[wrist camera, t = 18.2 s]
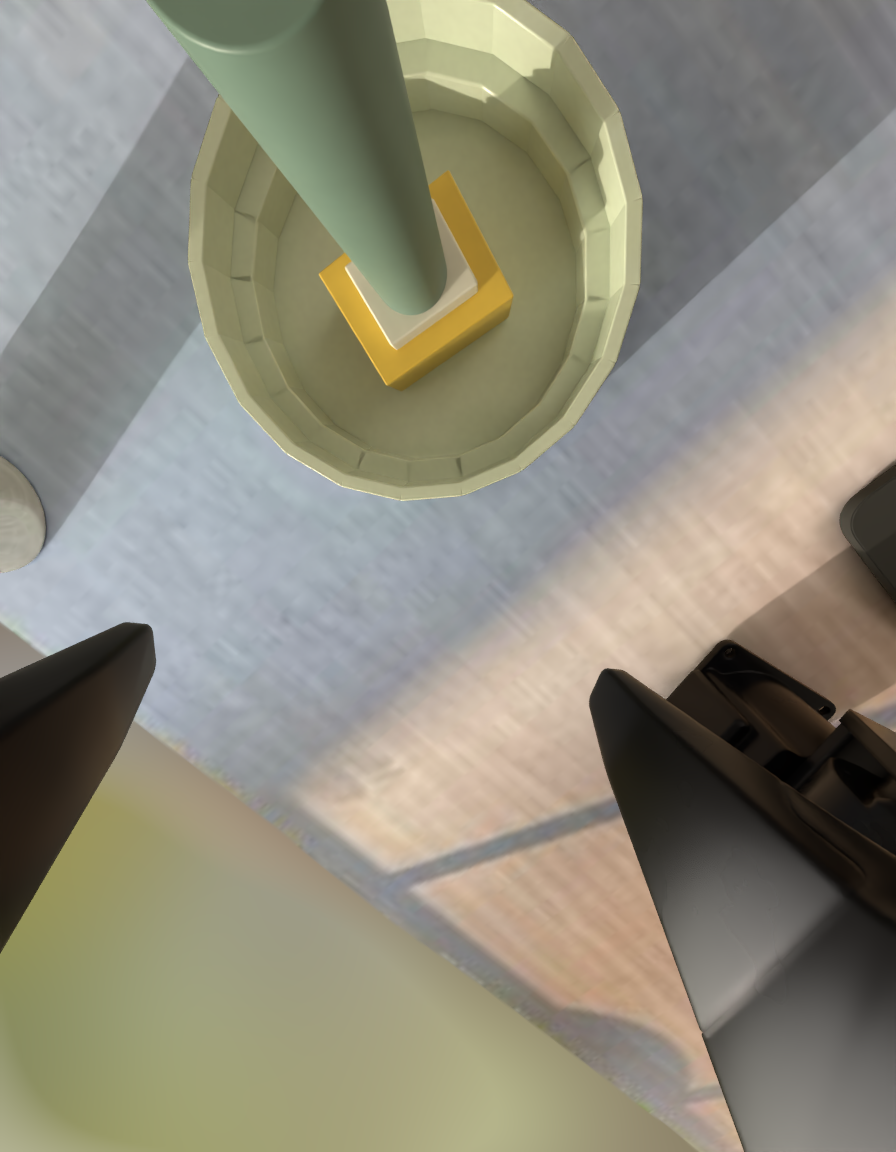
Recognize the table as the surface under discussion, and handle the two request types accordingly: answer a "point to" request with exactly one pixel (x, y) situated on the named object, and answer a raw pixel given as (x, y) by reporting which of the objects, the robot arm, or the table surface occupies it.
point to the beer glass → (19, 519)
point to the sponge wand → (353, 168)
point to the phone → (874, 527)
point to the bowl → (508, 224)
